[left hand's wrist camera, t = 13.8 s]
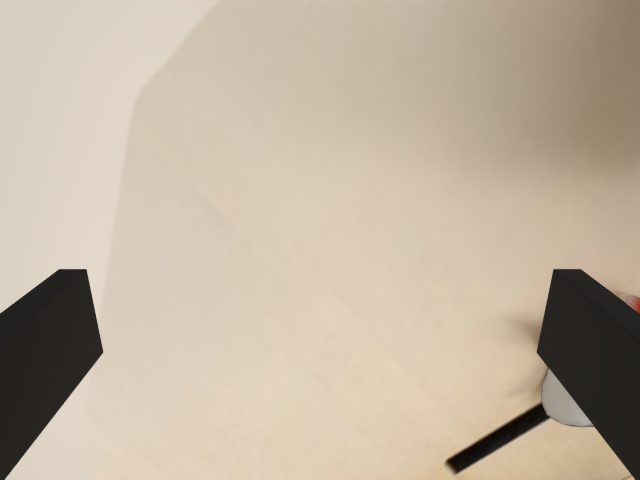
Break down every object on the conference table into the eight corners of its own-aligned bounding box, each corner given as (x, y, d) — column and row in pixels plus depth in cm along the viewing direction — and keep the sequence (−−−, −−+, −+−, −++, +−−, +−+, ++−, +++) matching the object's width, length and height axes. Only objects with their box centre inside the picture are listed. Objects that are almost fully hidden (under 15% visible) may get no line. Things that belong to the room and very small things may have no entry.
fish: (744, 382, 40) (778, 454, 32) (562, 405, 49) (552, 466, 41) (691, 274, 40) (712, 319, 32) (519, 318, 49) (500, 361, 41)
